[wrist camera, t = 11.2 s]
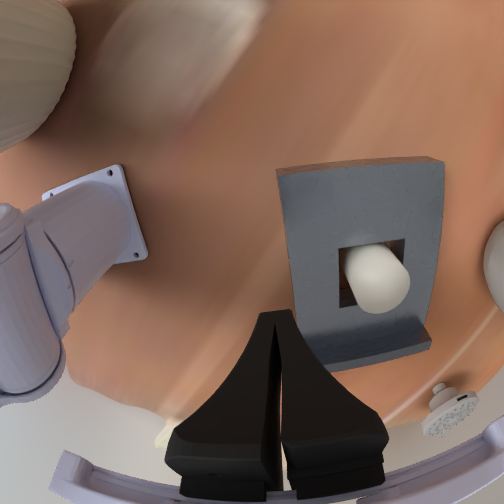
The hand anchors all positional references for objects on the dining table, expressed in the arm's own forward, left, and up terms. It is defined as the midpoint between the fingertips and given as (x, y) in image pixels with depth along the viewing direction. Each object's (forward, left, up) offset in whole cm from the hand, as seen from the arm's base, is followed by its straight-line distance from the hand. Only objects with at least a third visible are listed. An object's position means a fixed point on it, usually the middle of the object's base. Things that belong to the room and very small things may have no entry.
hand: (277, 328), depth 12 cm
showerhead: (+22, -28, -10) cm, 37 cm away
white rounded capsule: (+7, -3, -10) cm, 12 cm away
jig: (+7, -3, -10) cm, 12 cm away
